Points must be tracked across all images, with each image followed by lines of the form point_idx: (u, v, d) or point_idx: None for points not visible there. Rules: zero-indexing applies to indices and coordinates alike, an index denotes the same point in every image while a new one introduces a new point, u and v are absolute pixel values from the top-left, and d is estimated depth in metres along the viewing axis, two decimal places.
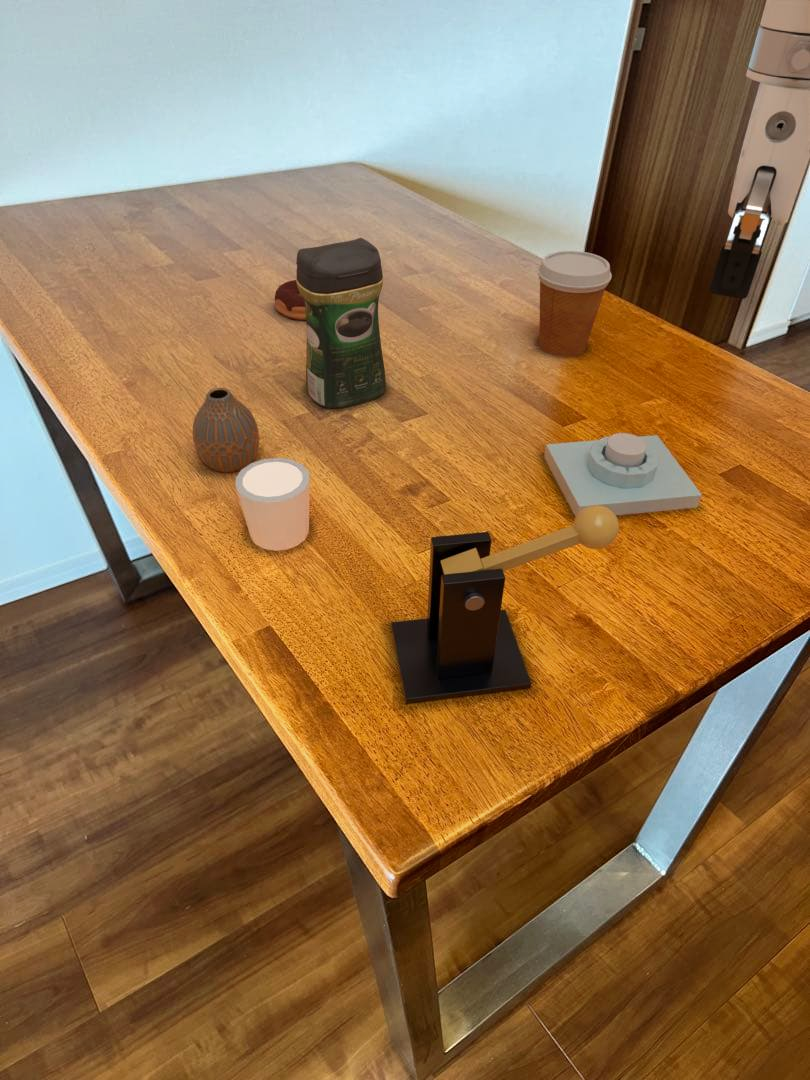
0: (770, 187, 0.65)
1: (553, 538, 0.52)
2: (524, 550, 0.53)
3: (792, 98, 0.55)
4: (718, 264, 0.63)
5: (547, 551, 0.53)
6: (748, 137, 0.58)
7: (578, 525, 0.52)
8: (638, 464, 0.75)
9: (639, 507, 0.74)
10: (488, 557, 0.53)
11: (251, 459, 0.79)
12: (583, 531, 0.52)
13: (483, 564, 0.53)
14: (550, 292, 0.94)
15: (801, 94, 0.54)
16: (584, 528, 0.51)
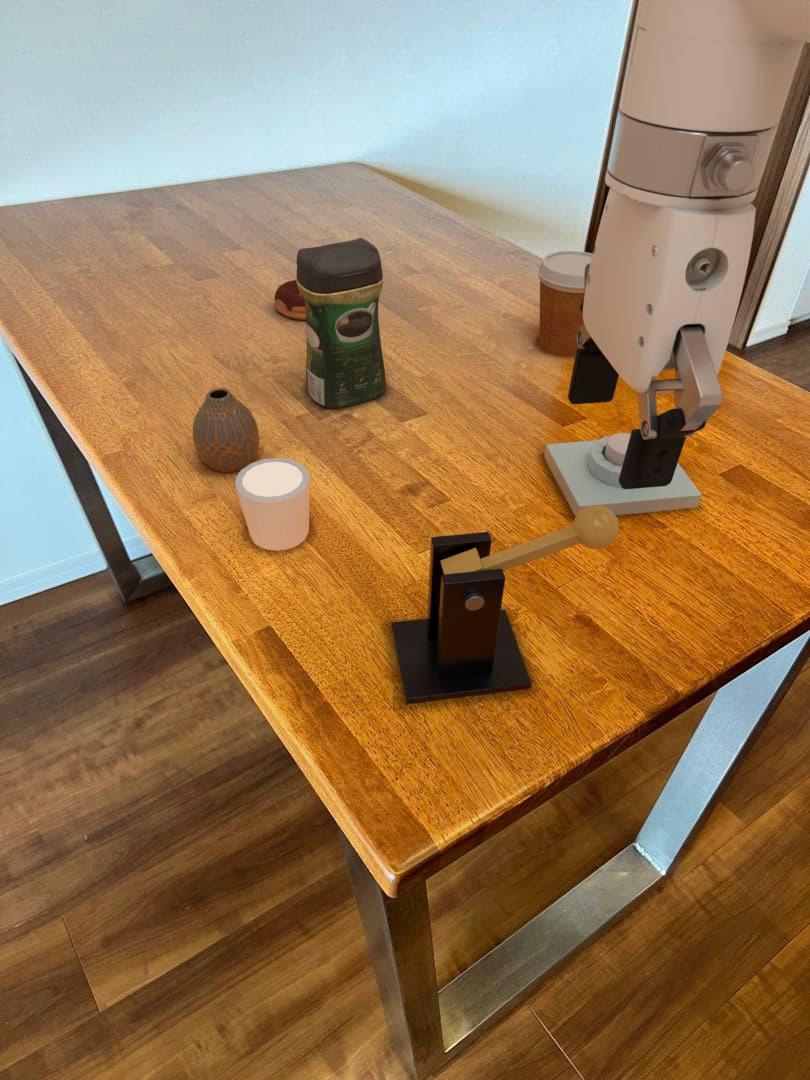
0: None
1: (553, 538, 0.52)
2: (524, 550, 0.53)
3: (720, 229, 0.35)
4: (631, 455, 0.42)
5: (547, 551, 0.53)
6: (657, 287, 0.37)
7: (578, 525, 0.52)
8: None
9: (639, 507, 0.74)
10: (488, 557, 0.53)
11: (251, 459, 0.79)
12: (583, 531, 0.52)
13: (483, 564, 0.53)
14: (550, 292, 0.94)
15: (732, 222, 0.35)
16: (584, 528, 0.51)
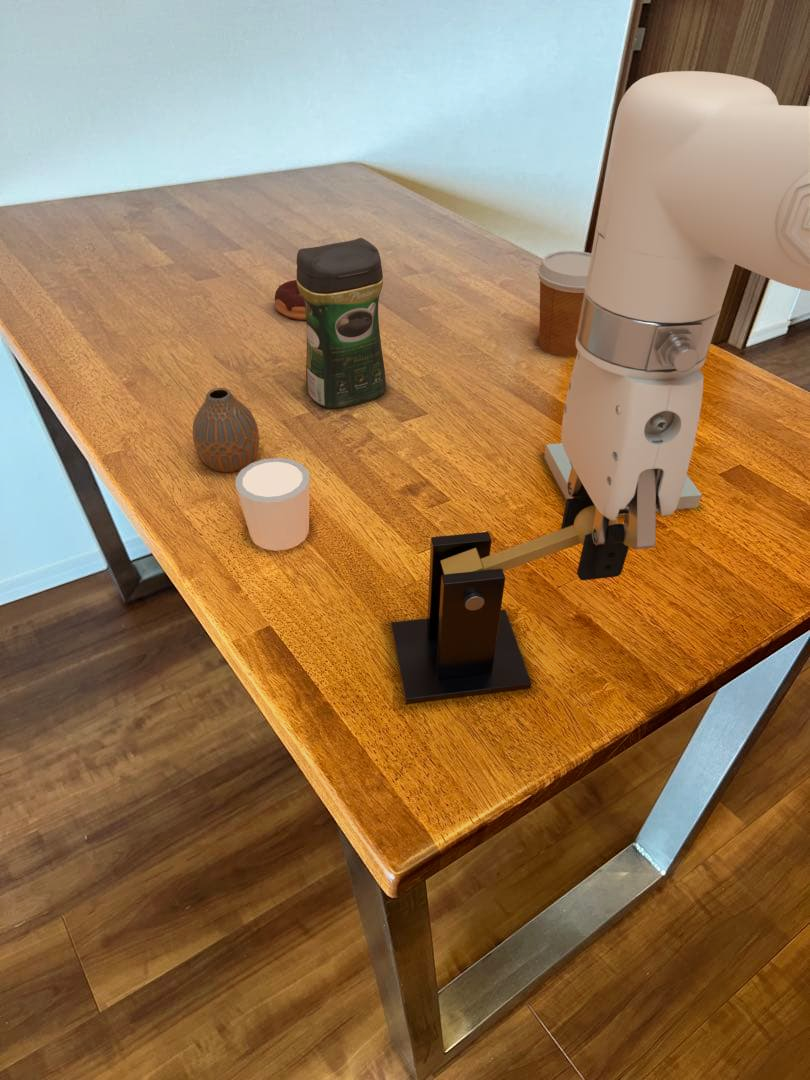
0: None
1: (553, 538, 0.52)
2: (524, 550, 0.53)
3: (673, 396, 0.40)
4: (586, 554, 0.51)
5: (547, 551, 0.53)
6: (620, 440, 0.42)
7: (578, 525, 0.52)
8: None
9: None
10: (488, 557, 0.53)
11: (251, 459, 0.79)
12: (583, 531, 0.52)
13: (483, 564, 0.53)
14: (550, 292, 0.94)
15: (682, 390, 0.40)
16: (584, 528, 0.51)
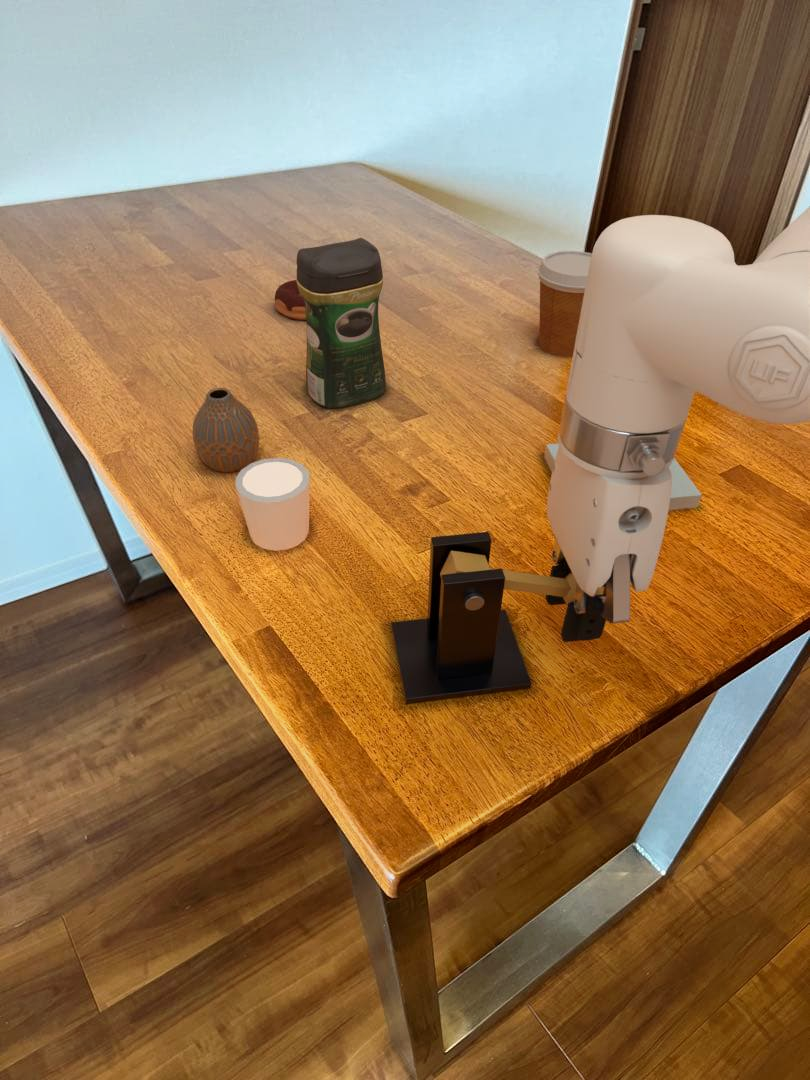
0: None
1: (550, 582, 0.55)
2: (524, 579, 0.55)
3: (644, 494, 0.45)
4: (568, 620, 0.56)
5: (540, 590, 0.55)
6: (597, 529, 0.47)
7: (575, 580, 0.56)
8: None
9: None
10: (491, 569, 0.54)
11: (251, 459, 0.79)
12: None
13: None
14: (550, 292, 0.94)
15: (652, 489, 0.45)
16: None
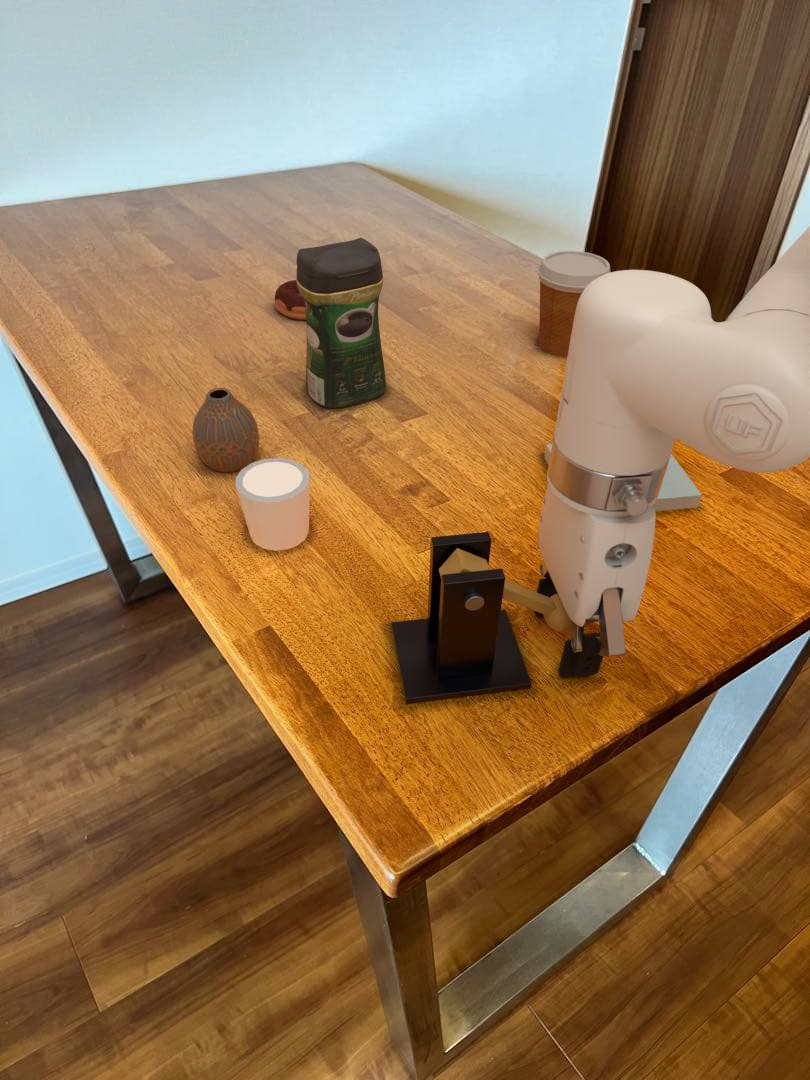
0: None
1: (539, 598, 0.57)
2: (517, 590, 0.55)
3: (629, 532, 0.47)
4: (566, 658, 0.56)
5: (528, 604, 0.56)
6: (585, 564, 0.49)
7: None
8: None
9: None
10: None
11: (251, 459, 0.79)
12: (564, 608, 0.57)
13: None
14: (550, 292, 0.94)
15: (637, 527, 0.47)
16: None
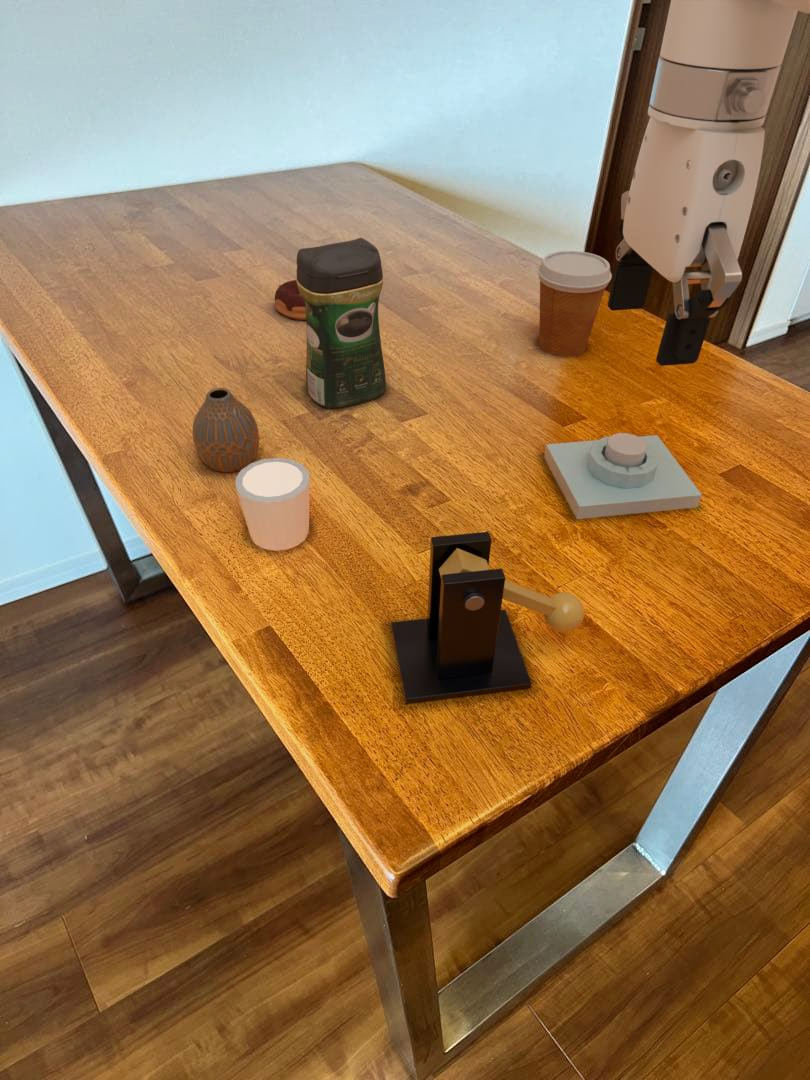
0: None
1: (539, 598, 0.57)
2: (517, 590, 0.55)
3: (739, 144, 0.46)
4: (667, 334, 0.54)
5: (528, 604, 0.56)
6: (690, 193, 0.48)
7: (562, 601, 0.57)
8: (638, 464, 0.75)
9: (639, 507, 0.74)
10: None
11: (251, 459, 0.79)
12: (564, 608, 0.57)
13: None
14: (550, 292, 0.94)
15: (747, 139, 0.46)
16: (566, 607, 0.57)
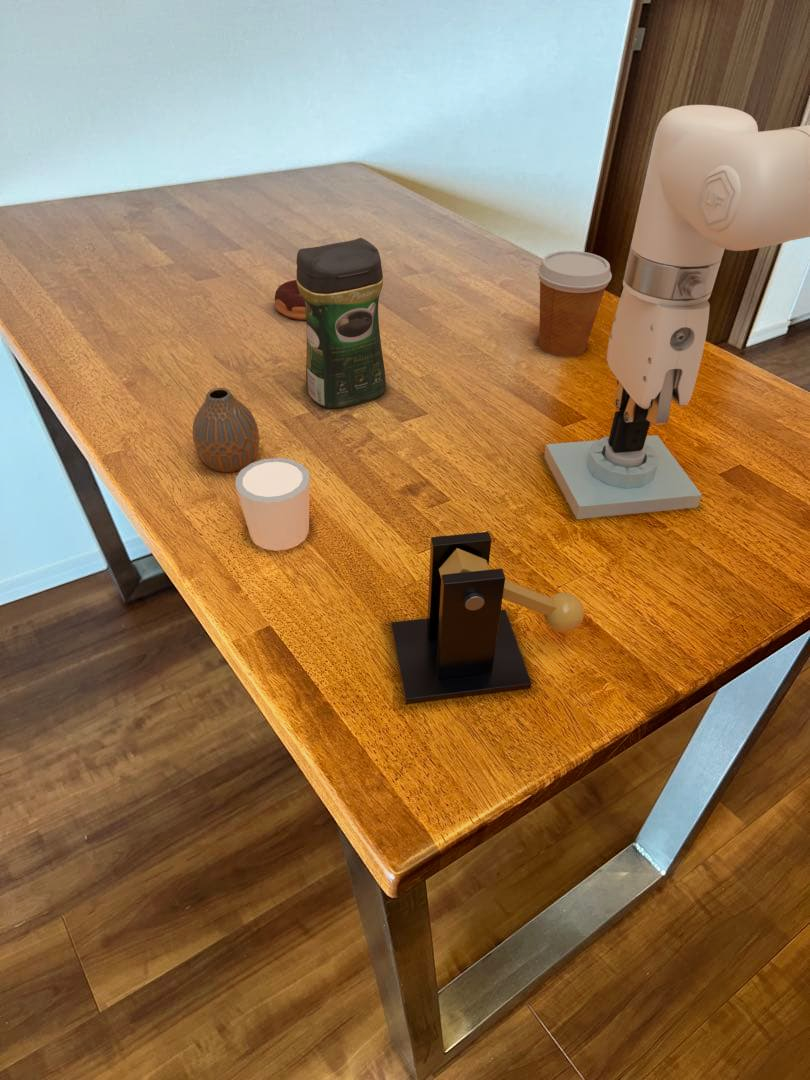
0: None
1: (539, 598, 0.57)
2: (517, 590, 0.55)
3: (689, 317, 0.61)
4: (619, 432, 0.73)
5: (528, 604, 0.56)
6: (653, 348, 0.63)
7: (562, 601, 0.57)
8: None
9: (639, 507, 0.74)
10: None
11: (251, 459, 0.79)
12: (564, 608, 0.57)
13: None
14: (550, 292, 0.94)
15: (696, 313, 0.61)
16: (566, 607, 0.57)
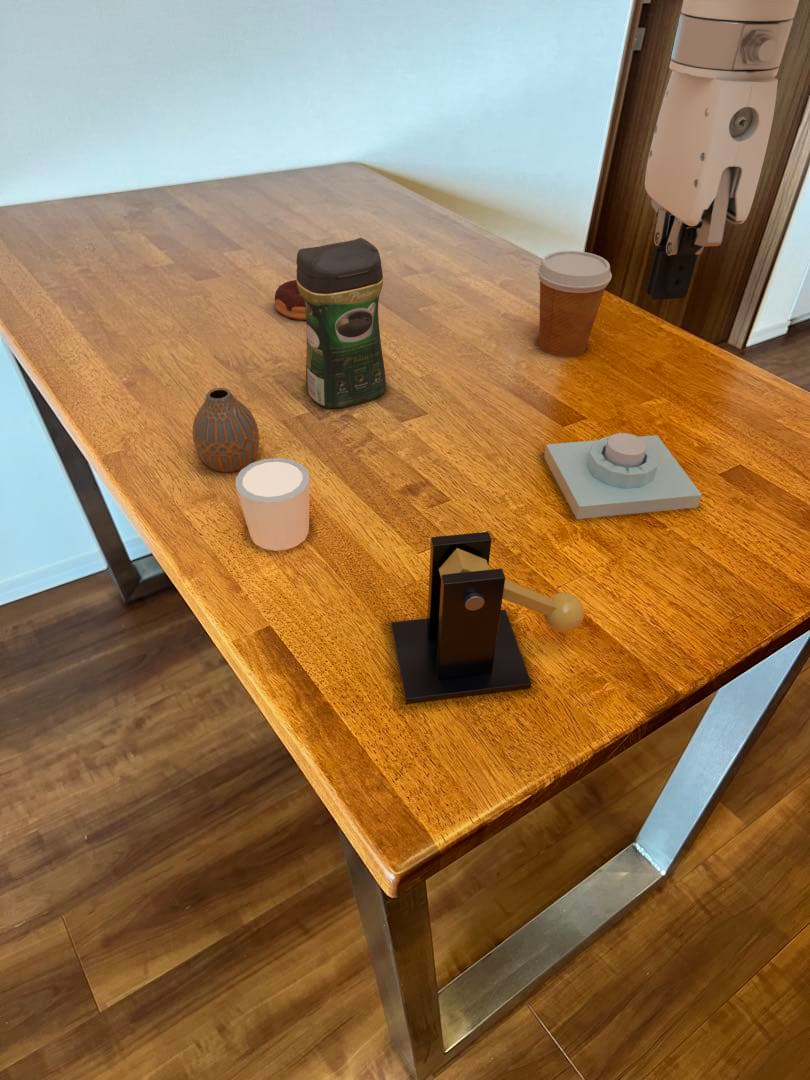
0: None
1: (539, 598, 0.57)
2: (517, 590, 0.55)
3: (754, 92, 0.50)
4: (659, 271, 0.62)
5: (528, 604, 0.56)
6: (708, 139, 0.52)
7: (562, 601, 0.57)
8: (638, 464, 0.75)
9: (639, 507, 0.74)
10: None
11: (251, 459, 0.79)
12: (564, 608, 0.57)
13: None
14: (550, 292, 0.94)
15: (762, 87, 0.50)
16: (566, 607, 0.57)
